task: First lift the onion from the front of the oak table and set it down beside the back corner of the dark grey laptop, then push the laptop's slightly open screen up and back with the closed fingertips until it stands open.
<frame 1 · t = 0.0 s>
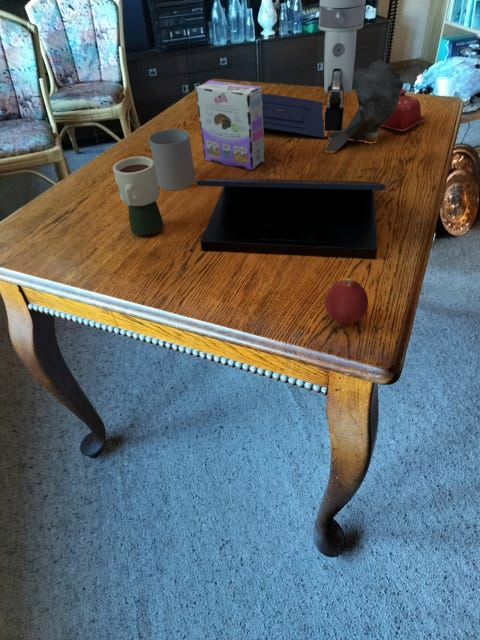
hand: (333, 120, 91), 13 cm above the table, tool pointing down, fingers open, 9 cm apart
laptop: (291, 221, 88), on the table
cup: (176, 182, 104), on the table
character mug: (148, 230, 89), on the table
laptop screen: (293, 183, 84), point 7 cm above the table, hinge at 25.0°
butter dish: (395, 125, 120), on the table
onion: (344, 323, 67), on the table
narwhal figurine: (360, 143, 113), on the table
candy box: (234, 161, 110), on the table
dark blue tray: (276, 121, 127), on the table
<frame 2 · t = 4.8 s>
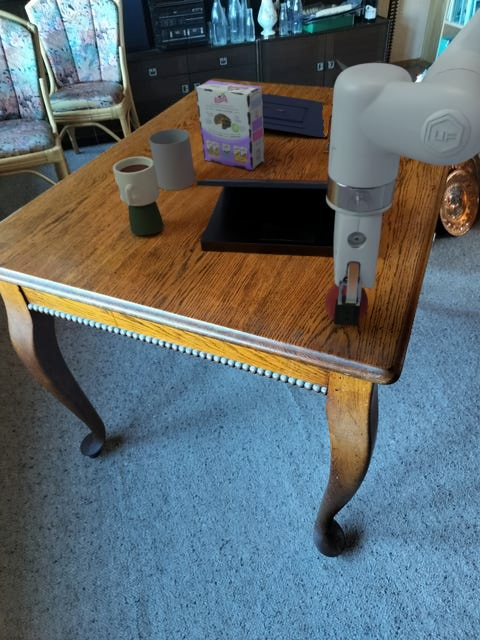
hand: (345, 306, 65), 3 cm above the table, tool pointing down, fingers closed on onion, 6 cm apart
onion: (344, 323, 67), on the table, touching gripper
everything else where it was.
when the fingers open (3 cm above the table, at t = 15.5 s): onion stays where it is, on the table.
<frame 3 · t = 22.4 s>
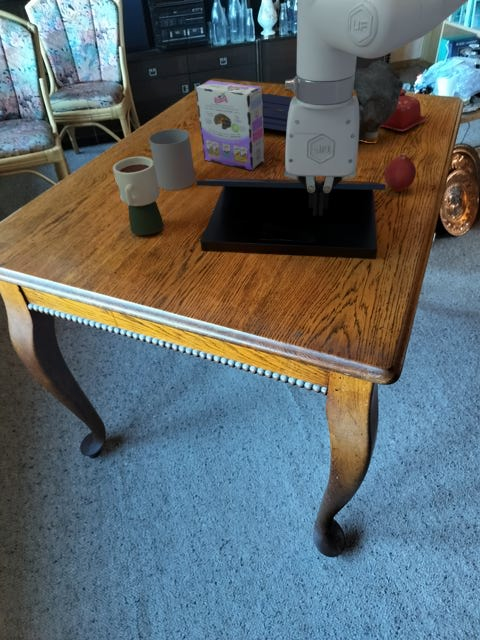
hand: (318, 211, 74), 8 cm above the table, tool pointing down, fingers closed
laptop screen: (293, 183, 84), point 7 cm above the table, hinge at 25.1°, touching gripper
onion: (396, 192, 94), on the table
everything else where it was.
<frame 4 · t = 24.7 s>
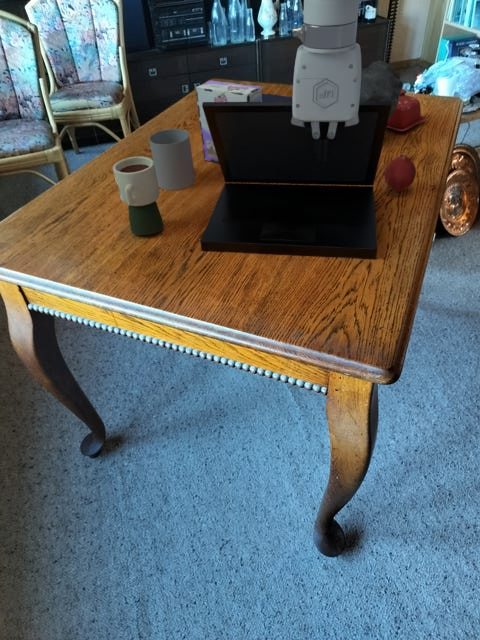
hand: (322, 159, 79), 12 cm above the table, tool pointing down, fingers closed
laptop screen: (295, 147, 84), point 12 cm above the table, hinge at 59.6°, touching gripper
everything else where it was.
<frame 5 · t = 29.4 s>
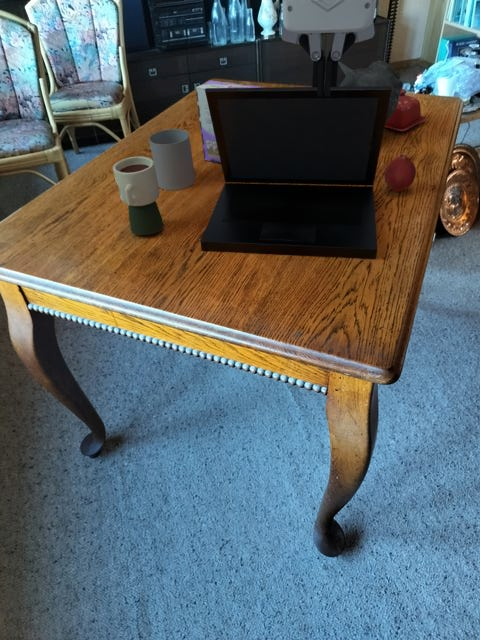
hand: (324, 92, 59), 27 cm above the table, tool pointing down, fingers closed
laptop screen: (296, 141, 85), point 12 cm above the table, hinge at 67.7°
everything else where it was.
at the end: onion inside the target area (0.1 cm from its centre), on the table; laptop screen at +68° (first picture: +25°) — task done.
